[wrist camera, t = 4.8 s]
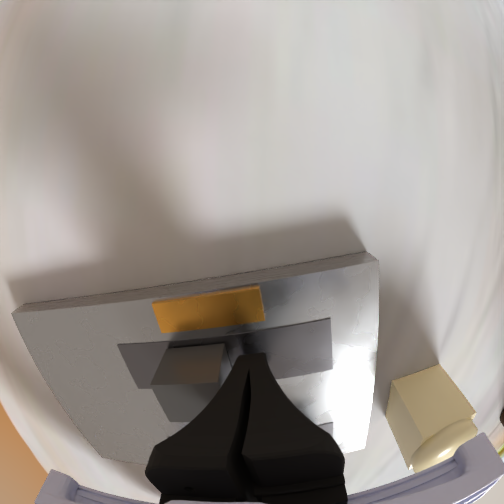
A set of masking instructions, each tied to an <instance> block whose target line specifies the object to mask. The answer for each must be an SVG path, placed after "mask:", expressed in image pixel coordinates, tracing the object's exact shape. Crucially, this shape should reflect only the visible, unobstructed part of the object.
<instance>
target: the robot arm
mask: <svg viewBox="0 0 504 504" xmlns="http://www.w3.org/2000/svg"><path fill="white" fill-rule="evenodd" d="M344 464H345V459H344V456H343V453H342V451H341V449H340V448H339V446H338V444H337V443H336V441H335V440H334V439H333V437H332V436H331V434H330V433H328V432H326V431H325V430H323V429H322V428H320V427H319V426H317V425H316V424H315V423H314V422H312V421H311V420H310V419H309V418H307V417H306V416H305V415H304V414H303V413H302V412H301V411H300V410H299V409H298V408H297V407H296V406H295V405H294V404H293V403H292V402H291V401H290V399H289V398H288V397H287V396H286V394H285V393H284V392H283V390H282V389H281V387H280V386H279V384H278V383H277V381H276V379H275V377H274V376H273V374H272V372H271V370H270V367H269V365H268V361H267V356H266V354H265V353H264V352H261V353H254V354H246V355H239V356H238V357H237V359H236V361H235V363H234V365H233V367H232V369H231V371H230V373H229V374H228V376H227V378H226V380H225V381H224V383H223V384H222V386H221V387H220V389H219V390H218V392H217V393H216V395H215V396H214V397H213V399H212V400H211V401H210V402H209V404H208V405H207V406H206V407H205V408H204V409H203V410H202V411H201V412H200V413H199V414H198V415H197V416H196V417H195V418H194V419H193V420H192V421H191V422H190V423H189V424H187V425H186V426H185V427H183V428H182V429H181V430H179V431H178V432H177V433H175V434H174V435H172V436H170V437H169V438H167V439H165V440H164V441H162V442H160V443H158V444H156V445H155V446H154V448H153V450H152V452H151V455H150V457H149V460H148V463H147V467H146V470H145V475H146V477H147V478H148V479H149V481H150V482H151V483H152V484H153V485H154V486H155V487H156V488H157V489H158V490H159V491H160V492H161V493H162V494H161V498H160V502H159V504H471V503H473V502H475V501H476V500H478V499H479V498H481V497H482V496H483V495H484V494H485V493H486V492H487V491H489V490H490V489H491V488H492V486H494V485H495V484H496V483H497V482H498V481H499V480H500V478H501V477H502V476H503V475H504V463H503V461H502V459H501V458H500V456H499V455H498V453H497V451H496V450H495V448H494V447H493V445H492V444H491V442H490V441H489V439H488V438H487V436H486V435H485V433H484V432H482V433H480V434H479V435H477V436H475V437H474V438H472V439H470V440H468V441H467V442H465V443H463V444H462V445H461V446H459V447H458V448H457V450H456V451H455V453H454V455H453V456H452V457H450V458H448V459H446V460H444V461H442V462H440V463H438V464H436V465H434V466H432V467H429V468H427V469H425V470H422V471H420V472H418V473H415V474H413V475H410V476H408V477H405V478H403V479H400V480H397V481H394V482H391V483H389V484H386V485H383V486H379V487H376V488H373V489H370V490H366V491H363V492H359V493H355V494H351V495H347V493H346V488H345V479H344V475H343V472H344ZM35 504H155V503H149V502H143V501H138V500H133V499H128V498H124V497H120V496H116V495H112V494H108V493H104V492H100V491H97V490H94V489H90V488H87V487H84V486H81V485H79V484H78V483H77V482H76V481H75V480H74V479H73V478H71V477H70V476H68V475H66V474H63V473H61V472H58V471H55V470H51V471H50V473H49V474H48V476H47V478H46V480H45V482H44V484H43V486H42V488H41V490H40V492H39V494H38V496H37V498H36V500H35Z"/></svg>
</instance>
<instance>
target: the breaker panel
mask: <svg viewBox="0 0 504 504" xmlns="http://www.w3.org/2000/svg"><path fill="white" fill-rule="evenodd" d="M11 314H12V316H13V319H14V321H15V323H16V325H17V328H18V330H19V332H20V334H21V336H22V338H23V340H24V342H25V344H26V346H27V348H28V350H29V352H30V354H31V356H32V358H33V360H34V362H35V363H36V365H37V367H38V369H39V371H40V372H41V374H42V376H43V377H44V379H45V381H46V382H47V384H48V386H49V387H50V389H51V390H52V392H53V394H54V395H55V397H56V398H57V400H58V401H59V403H60V404H61V406H62V407H63V408H64V410H65V411H66V413H67V414H68V416H69V417H70V418H71V420H72V421H73V422H74V424H75V425H76V426H77V428H78V429H79V430H80V431H81V433H82V434H83V435H84V436H85V438H86V439H87V440H88V441H89V443H90V444H91V445H92V446H93V447H94V449H95V450H96V451H97V452H98V453H99V454H100V455H101V457H103V458H108V459H113V460H118V461H124V462H130V463H137V464H144V465H147V463H148V460H149V457H150V455H151V452H152V450H153V448H154V446H155V445H156V444H158V443H160V442H162V441H164V440H165V439H167V438H169V437H170V436H172V435H174V434H175V433H177V432H178V431H179V430H181V429H182V428H183V427H185V426H186V425H187V424H189V423H190V422H170V421H169V420H168V418H167V416H166V414H165V413H164V411H163V409H162V407H161V405H160V403H159V402H158V400H157V398H156V396H155V394H154V392H153V390H152V388H151V386H150V384H151V381H152V379H153V377H154V375H155V372H156V370H157V368H158V366H159V364H160V361H161V359H162V357H163V355H164V353H165V350H166V349H170V348H182V347H194V346H204V345H213V344H222V343H224V344H225V347H226V351H227V354H228V358H229V361H230V365H231V368H232V367H233V365H234V363H235V361H236V359H237V357H238V356H239V355H246V354H254V353H261V352H264V353H265V354H266V356H267V361H268V365H269V367H270V370H271V372H272V374H273V376H274V377H275V379H276V381H277V383H278V384H279V386H280V387H281V389H282V390H283V392H284V393H285V394H286V396H287V397H288V398H289V399H290V401H291V402H292V403H293V404H294V405H295V406H296V407H297V408H298V409H299V410H300V411H301V412H302V413H303V414H304V415H305V416H306V417H307V418H309V419H310V420H311V421H312V422H314V423H315V424H316V425H317V426H319V427H320V428H322V429H323V430H325V431H326V432H328V433H330V434H331V436H332V437H333V439H334V440H335V441H336V443H337V444H338V446H339V448H340V449H341V451H342V453H343V454H344V453H348V452H352V451H355V450H359V449H363V448H364V447H365V442H366V436H367V431H368V425H369V419H370V412H371V405H372V398H373V389H374V380H375V370H376V359H377V345H378V326H379V260H377V259H376V258H375V257H374V256H372V255H371V254H370V253H368V252H367V251H366V252H361V253H356V254H350V255H345V256H339V257H334V258H328V259H323V260H317V261H311V262H306V263H300V264H294V265H288V266H282V267H277V268H271V269H265V270H259V271H253V272H247V273H241V274H234V275H228V276H222V277H216V278H209V279H203V280H197V281H190V282H184V283H177V284H170V285H164V286H157V287H150V288H143V289H136V290H129V291H122V292H115V293H108V294H101V295H93V296H86V297H78V298H70V299H63V300H55V301H47V302H38V303H30V304H23V305H22V306H21V307H19V308H18V309H16V310H15V311H14V312H12V313H11Z"/></svg>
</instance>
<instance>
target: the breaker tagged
mask: <svg viewBox="0 0 504 504" xmlns="http://www.w3.org/2000/svg"><path fill="white" fill-rule="evenodd" d="M231 369H232V368H231V365H230V361H229V358H228V354H227V351H226V347H225V344H224V343H222V344H213V345H204V346H194V347H182V348H170V349H166V350H165V353H164V355H163V357H162V359H161V361H160V364H159V366H158V368H157V370H156V372H155V375H154V377H153V379H152V381H151V384H150V386H151V388H152V390H153V392H154V394H155V396H156V398H157V400H158V402H159V403H160V405H161V407H162V409H163V411H164V413H165V414H166V416H167V418H168V420H169V421H170V422H191V421H192V420H193V419H194V418H195V417H196V416H197V415H198V414H199V413H200V412H201V411H202V410H203V409H204V408H205V407H206V406H207V405H208V404H209V402H210V401H211V400H212V399H213V397H214V396H215V395H216V393H217V392H218V390H219V389H220V387H221V386H222V384H223V383H224V381H225V380H226V378H227V376H228V374H229V373H230V371H231Z"/></svg>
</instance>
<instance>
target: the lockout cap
mask: <svg viewBox="0 0 504 504" xmlns="http://www.w3.org/2000/svg"><path fill="white" fill-rule="evenodd" d="M475 414H476V411H475V410H474V409H473V407H472V406H471V404H470V403H469V402H468V400H467V399H466V398H465V396H464V395H463V394H462V392H461V391H460V390H459V388H458V387H457V386H456V384H455V383H454V382H453V381H452V379H451V378H450V377H449V375H448V374H447V373H446V372H445V370H444V369H443V368H442V367H441V365H440V364H438V365H435V366H433V367H430V368H427V369H425V370H422V371H419V372H416V373H414V374H411V375H408V376H405V377H402V378H399V379H396V380H392V383H391V389H390V395H389V400H388V405H387V410H386V415H385V417H386V419H387V421H388V423H389V425H390V428H391V430H392V432H393V435H394V437H395V439H396V441H397V444H398V446H399V448H400V451H401V453H402V455H403V458H404V460H405V463H406V465H407V467H408V470H409V469H411V468H413V470H414V472H415V473H418V472H420V471H422V470H425V469H427V468H429V467H432V466H434V465H436V464H438V463H440V462H442V461H444V460H446V459H448V458H450V457H452V456H453V455H454V453H455V451H456V450H457V448H458V447H459V446H461V445H462V444H463V443H465V442H467V441H468V440H470V439H472V438H474V437H475V436H476V434H477V431H478V429H477V427H476V426H475V424H474V423H473V421H472V420H473V418H474V416H475Z"/></svg>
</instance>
